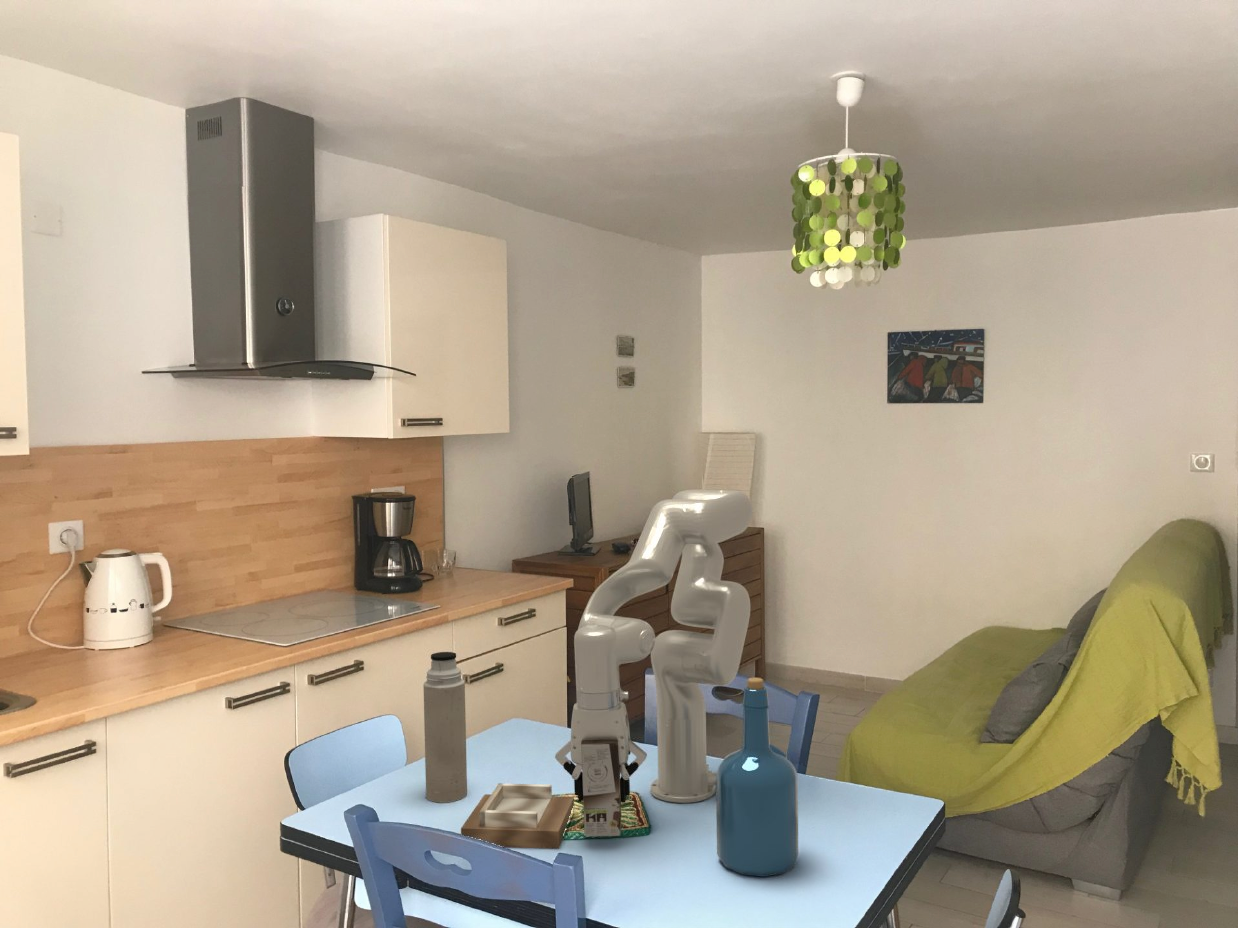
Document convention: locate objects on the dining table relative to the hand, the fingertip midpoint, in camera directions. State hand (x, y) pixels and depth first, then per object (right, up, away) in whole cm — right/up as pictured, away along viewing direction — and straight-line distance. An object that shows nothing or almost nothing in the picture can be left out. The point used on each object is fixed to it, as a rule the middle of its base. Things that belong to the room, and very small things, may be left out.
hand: (602, 798), depth 170 cm
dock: (-15, -7, +5) cm, 17 cm away
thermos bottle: (-31, -7, +22) cm, 39 cm away
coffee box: (0, -5, 0) cm, 5 cm away
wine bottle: (+26, -7, -10) cm, 28 cm away
